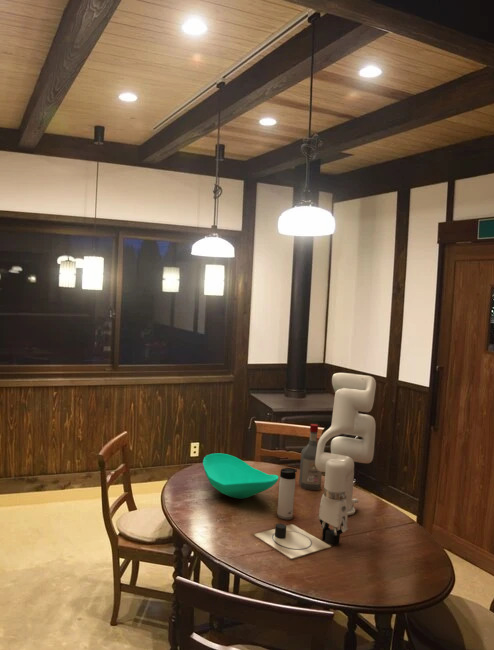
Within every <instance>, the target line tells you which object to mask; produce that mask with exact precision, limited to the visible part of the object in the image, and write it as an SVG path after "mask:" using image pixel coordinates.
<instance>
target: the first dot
mask: <svg viewBox="0 0 494 650" xmlns="http://www.w3.org/2000/svg"><path fill="white" fill-rule="evenodd" d="M286 526H287V525H286V524H284V523H276V524H275V525H274V527H275V528H274V529H275V537H277V538H279V539H284V538H285V537H286Z"/></svg>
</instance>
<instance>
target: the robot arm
mask: <svg viewBox="0 0 494 650" xmlns="http://www.w3.org/2000/svg"><path fill="white" fill-rule="evenodd" d="M331 385H332V388H333V390H334V393H335V394H334V399H333V405H332V406H333V408H332V415H331V425H330V426H329V427H328V429H326V430H325V431H324V432H323V433H322V434H321V435H320V437H319V439H318V440H317V450H316V458H315V466H316V468H317V470H319V471H321V472H322V473H324V485H323V493H322V496H321V499H320V504H319V509H318V510H319V511H318V514H317V515H316V518H317V519H318V521H319V523H320V525H321V529H322V534H321V535H322V536H321V537H322V538H321V539H322V541H325V534H326V530H327V529H331V528H330V526H332V527H333V530H334V534H333V537H332V544H331V546H337V545H339V544H340V540H341V535H342V534H344V533H346V532H348V531H349V528H348V516H352V515H355V512H356V509H355V507H354V504H355V505H356V504H358V503H359V499H358V498H353V493H354V481H355V479H354V478H355V463H360V464H370V463H372V462H373V460H374V456H375V455H374V454H375V442H376V427H377V426H376V420H375V418H374V417H373V416H372V415H370V414H364V413H370V412H371V411H372V409H373V408H374V407H373V406H374V402H375V396H376V388H377V381H376V379H375V378H374V377H373V376H371V375H364V374H356V373H347V372H336V373H334V374H333V375H332V377H331ZM360 412H363V413H360ZM340 435H348V436H354V437H360V438H361V439H359V438H354V437H348V436H340ZM330 439H331V441H330V452H325V447H326V444H327V442H329V440H330Z"/></svg>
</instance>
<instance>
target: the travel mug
mask: <svg viewBox="0 0 494 650" xmlns="http://www.w3.org/2000/svg"><path fill="white" fill-rule="evenodd" d="M297 472H298V469H297V468H292V467H285V468H282V469H280V473H279V474H280V475H279V483H278V484H279V485H278V499H277V513H276V516H277V517H278V518H279V519H280V520H288V521H289V520H292V519H293V517H294V505H295V503H294V502H295V493H296V492H295V491H296V477H297V475H296V473H297Z"/></svg>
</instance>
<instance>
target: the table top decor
mask: <svg viewBox="0 0 494 650" xmlns="http://www.w3.org/2000/svg"><path fill="white" fill-rule="evenodd" d="M202 465H203V469H204V473H205V475H206V477H207V480H208V481H209V483H210V485H211V486H212V487H213V488H214V489H216V490H217V491H218V492H220V494H223V495H225V496H228V497H229V498H233V499H238V500H245V499H248V498H251V497H253V496H256V495H258V494H260V493H262V492H265V491H267V490H268V489H270V488H272V487H273V486H274V485H275V484H276V483H277V482H278V481H279V479H280V476H279V475H277V474H268V473H266V472H264V471H262V470H260V469H257V468H255V467H253V466H251V465H250V464H248V463H247V462H246V461H244V460H242V459H240V458H238V457H236V456H234V455H231V454H228V453H221V452H218V453H215V452H214V453H210V454H207V455H205V456H204V457H203V460H202Z"/></svg>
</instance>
